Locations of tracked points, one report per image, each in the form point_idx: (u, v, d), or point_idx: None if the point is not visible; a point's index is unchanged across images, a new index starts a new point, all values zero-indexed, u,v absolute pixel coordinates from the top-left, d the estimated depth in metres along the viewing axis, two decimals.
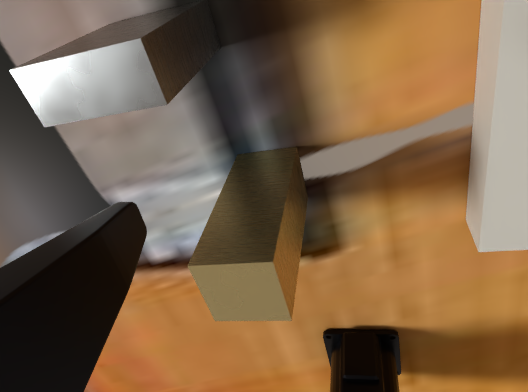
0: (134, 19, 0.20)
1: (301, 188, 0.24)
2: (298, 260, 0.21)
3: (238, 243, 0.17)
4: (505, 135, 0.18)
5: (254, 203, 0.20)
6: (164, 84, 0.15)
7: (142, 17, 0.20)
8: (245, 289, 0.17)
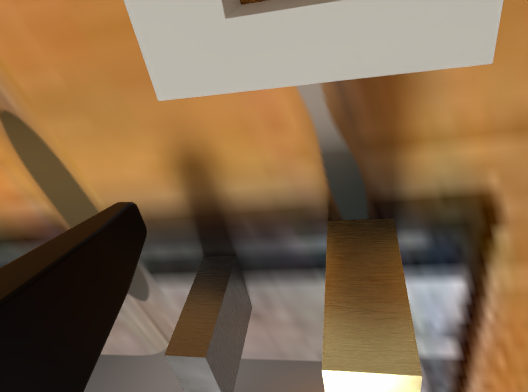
0: None
1: (365, 234, 0.22)
2: (403, 300, 0.18)
3: None
4: (290, 70, 0.16)
5: None
6: (196, 351, 0.21)
7: None
8: None
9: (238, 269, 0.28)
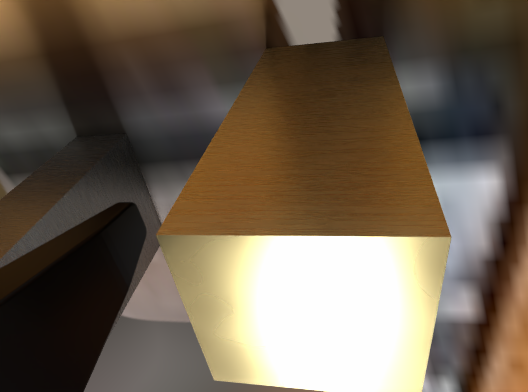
0: None
1: (328, 53, 0.12)
2: (395, 113, 0.08)
3: None
4: None
5: None
6: None
7: None
8: (280, 314, 0.06)
9: (130, 159, 0.17)
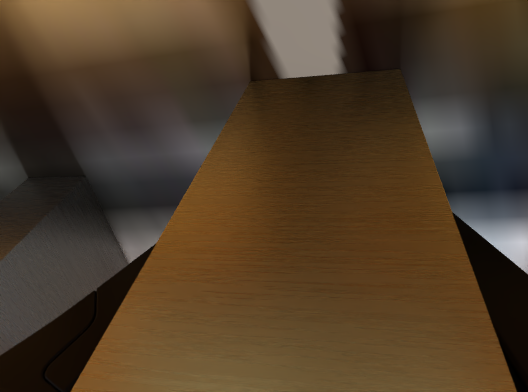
0: None
1: (329, 94, 0.09)
2: (435, 226, 0.05)
3: None
4: None
5: None
6: None
7: None
8: None
9: (91, 206, 0.14)
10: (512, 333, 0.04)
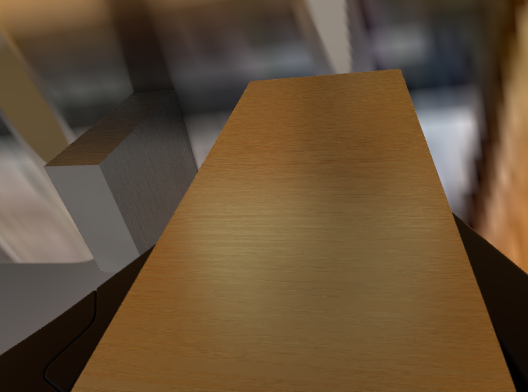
0: None
1: (329, 94, 0.09)
2: (434, 225, 0.05)
3: None
4: None
5: None
6: (88, 160, 0.15)
7: None
8: None
9: (177, 110, 0.21)
10: (512, 333, 0.04)
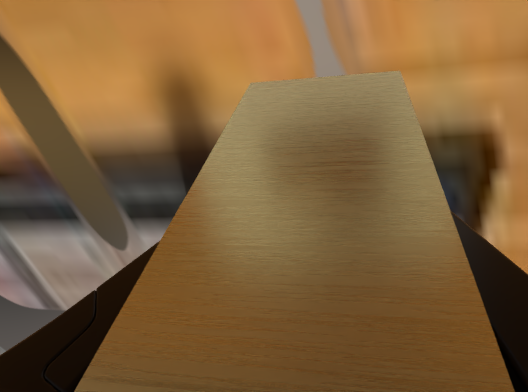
0: None
1: (329, 96, 0.09)
2: (435, 228, 0.05)
3: None
4: None
5: None
6: None
7: None
8: None
9: None
10: (512, 333, 0.04)
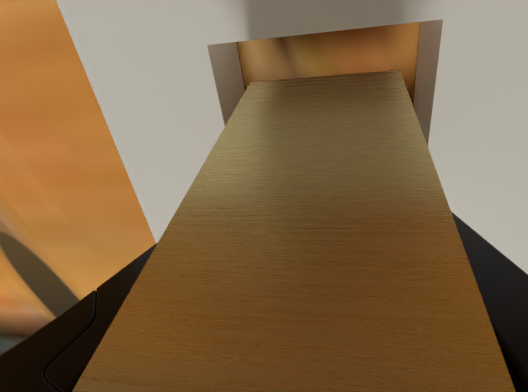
0: None
1: (329, 95, 0.09)
2: (435, 228, 0.05)
3: None
4: None
5: None
6: None
7: None
8: None
9: None
10: (512, 333, 0.04)
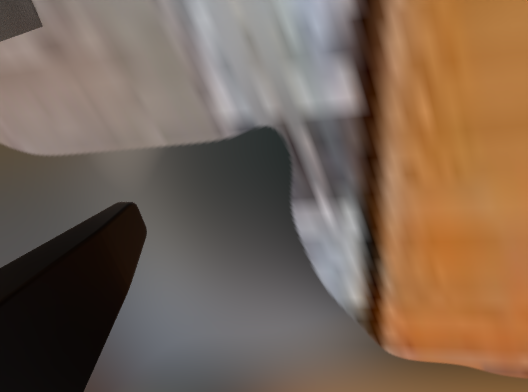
0: None
1: None
2: None
3: None
4: None
5: None
6: None
7: None
8: None
9: None
10: None
